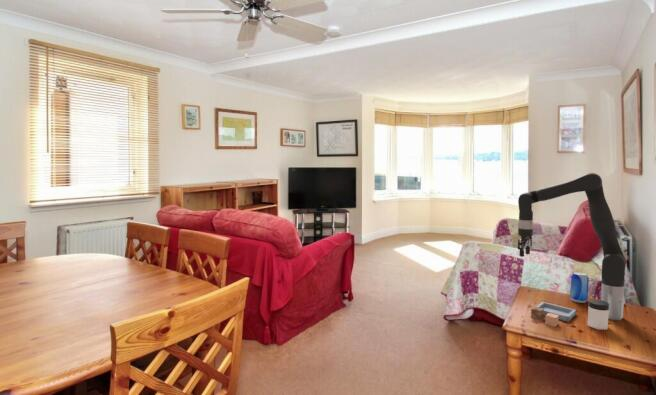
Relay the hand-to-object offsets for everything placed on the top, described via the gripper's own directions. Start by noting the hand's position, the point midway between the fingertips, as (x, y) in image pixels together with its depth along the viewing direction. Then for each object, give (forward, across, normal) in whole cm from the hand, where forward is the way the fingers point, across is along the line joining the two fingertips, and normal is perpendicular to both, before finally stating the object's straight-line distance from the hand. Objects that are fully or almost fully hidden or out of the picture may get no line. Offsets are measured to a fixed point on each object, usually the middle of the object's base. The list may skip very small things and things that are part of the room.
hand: (524, 255), depth 217 cm
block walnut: (+26, -21, -15) cm, 37 cm away
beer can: (+26, +20, -22) cm, 40 cm away
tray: (+26, -10, -20) cm, 34 cm away
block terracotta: (+26, -25, -23) cm, 43 cm away
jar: (+26, -12, -39) cm, 48 cm away
